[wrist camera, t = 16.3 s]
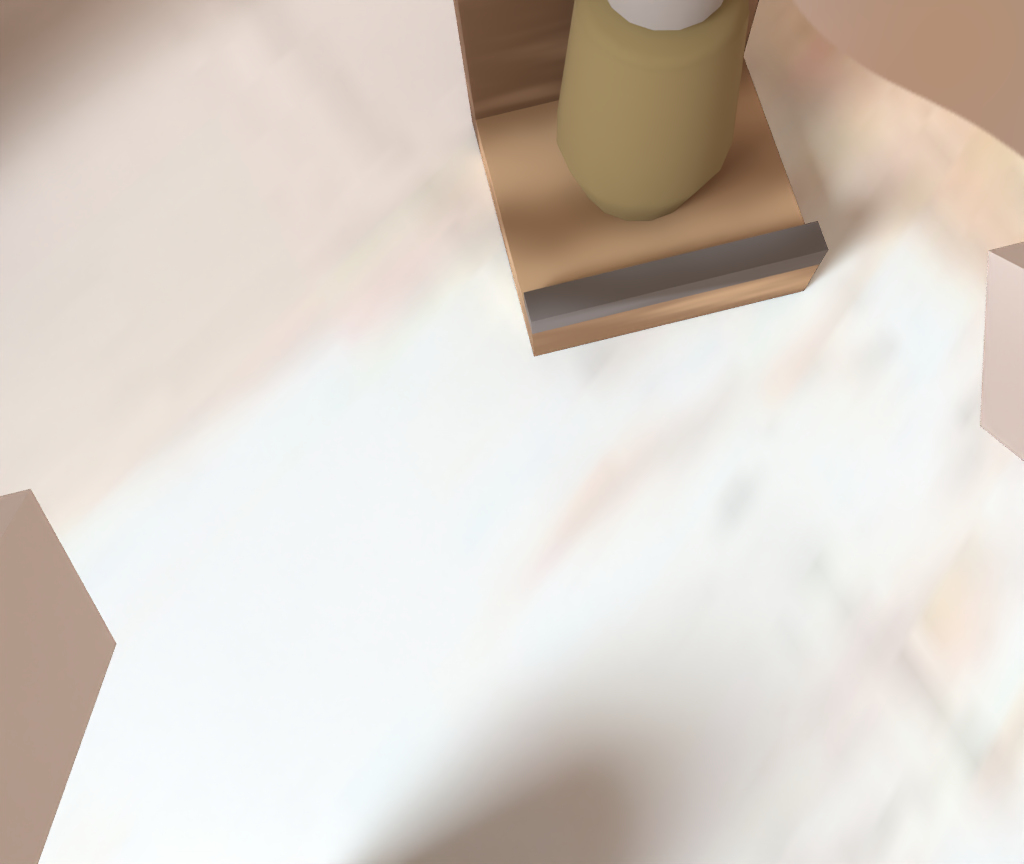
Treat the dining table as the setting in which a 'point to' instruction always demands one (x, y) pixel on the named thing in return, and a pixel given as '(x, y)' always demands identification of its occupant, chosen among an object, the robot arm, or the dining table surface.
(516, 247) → the wooden bookend
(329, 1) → the dining table surface
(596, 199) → the squeeze bottle
